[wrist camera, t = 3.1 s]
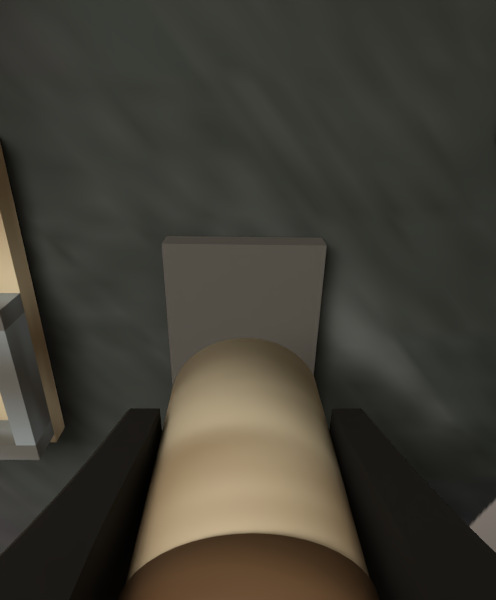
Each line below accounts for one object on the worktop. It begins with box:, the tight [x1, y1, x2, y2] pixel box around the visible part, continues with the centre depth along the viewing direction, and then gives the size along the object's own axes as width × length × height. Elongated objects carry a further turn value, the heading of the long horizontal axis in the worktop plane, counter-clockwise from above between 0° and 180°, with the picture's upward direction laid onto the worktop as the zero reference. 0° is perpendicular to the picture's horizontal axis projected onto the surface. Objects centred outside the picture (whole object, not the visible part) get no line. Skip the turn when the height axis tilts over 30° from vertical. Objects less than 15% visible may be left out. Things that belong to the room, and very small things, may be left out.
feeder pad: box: [162, 236, 327, 385], centre depth 18 cm, size 11×6×1 cm, turn 179°
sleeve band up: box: [118, 338, 379, 600], centre depth 7 cm, size 4×4×6 cm
